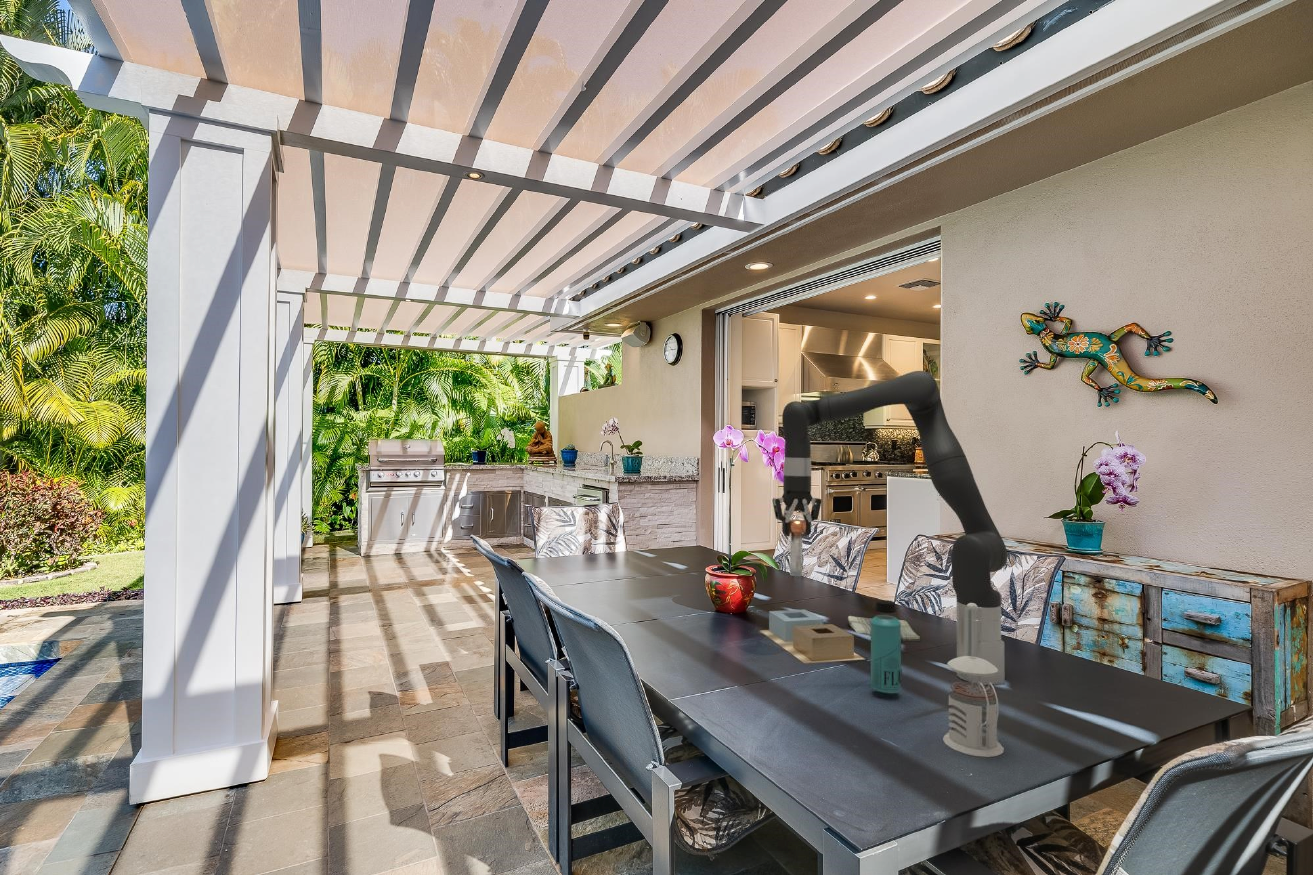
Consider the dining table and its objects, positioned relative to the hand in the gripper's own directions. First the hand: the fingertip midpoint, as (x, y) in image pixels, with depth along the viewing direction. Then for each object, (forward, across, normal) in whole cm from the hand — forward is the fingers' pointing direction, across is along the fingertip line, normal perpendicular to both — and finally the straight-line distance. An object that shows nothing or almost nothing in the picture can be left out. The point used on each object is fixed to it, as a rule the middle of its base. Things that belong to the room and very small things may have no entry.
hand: (796, 535), depth 178 cm
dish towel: (+30, +29, +4) cm, 42 cm away
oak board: (+29, 0, -8) cm, 30 cm away
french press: (+28, +4, -66) cm, 72 cm away
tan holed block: (+27, 0, -16) cm, 31 cm away
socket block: (+28, 0, 0) cm, 28 cm away
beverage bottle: (+29, +2, -41) cm, 50 cm away
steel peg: (+11, 0, 0) cm, 11 cm away
